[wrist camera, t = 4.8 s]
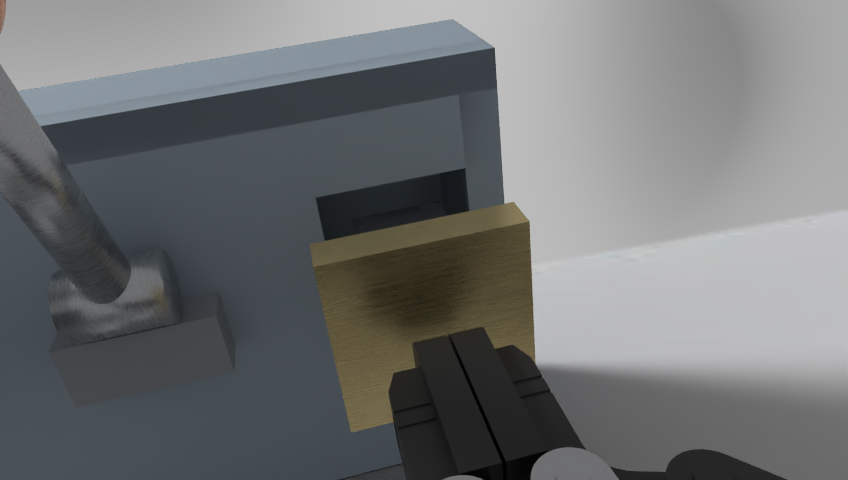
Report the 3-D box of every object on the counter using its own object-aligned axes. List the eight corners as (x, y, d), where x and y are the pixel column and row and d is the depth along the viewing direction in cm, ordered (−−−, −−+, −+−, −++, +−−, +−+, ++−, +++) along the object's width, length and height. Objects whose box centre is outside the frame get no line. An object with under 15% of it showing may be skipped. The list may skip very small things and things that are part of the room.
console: (-140, 635, 19) (-501, 236, 13) (-64, 491, 23) (-303, 144, 17) (531, 459, 22) (510, 58, 15) (483, 360, 26) (453, 19, 20)
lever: (75, 375, 16) (-334, -34, 7) (81, 283, 17) (-255, -141, 9) (188, 349, 16) (-80, -67, 8) (183, 263, 18) (-44, -164, 9)
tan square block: (351, 432, 16) (313, 267, 14) (333, 334, 19) (301, 189, 17) (536, 386, 16) (529, 221, 14) (487, 299, 20) (475, 155, 18)
